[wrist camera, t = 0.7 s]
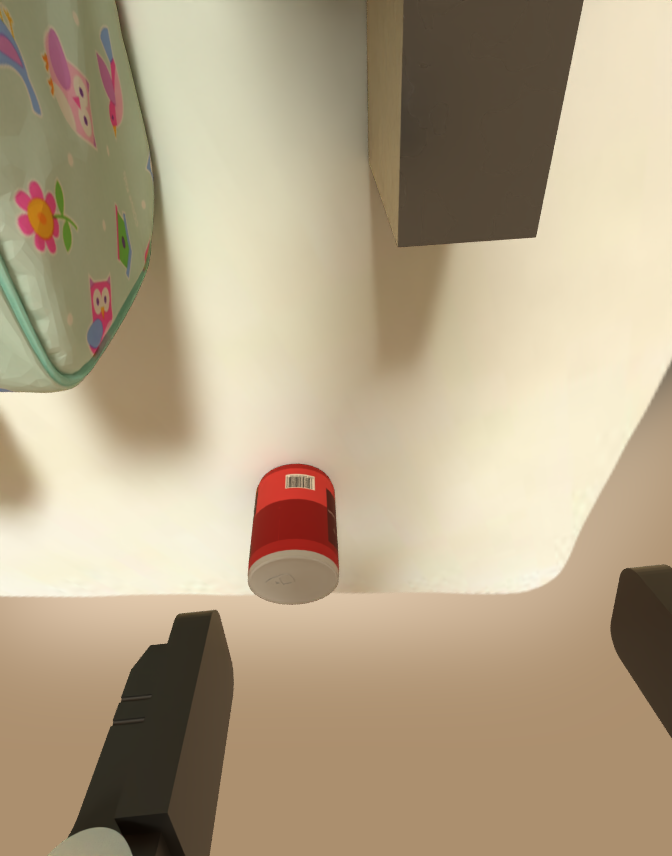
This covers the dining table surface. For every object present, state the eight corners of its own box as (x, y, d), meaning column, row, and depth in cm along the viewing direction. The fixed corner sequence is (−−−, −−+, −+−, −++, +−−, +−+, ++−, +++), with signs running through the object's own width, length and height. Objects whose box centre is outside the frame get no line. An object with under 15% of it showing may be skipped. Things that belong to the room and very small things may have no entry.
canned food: (241, 482, 52) (228, 577, 44) (306, 449, 49) (306, 544, 41) (285, 521, 56) (282, 614, 48) (348, 493, 54) (355, 587, 45)
